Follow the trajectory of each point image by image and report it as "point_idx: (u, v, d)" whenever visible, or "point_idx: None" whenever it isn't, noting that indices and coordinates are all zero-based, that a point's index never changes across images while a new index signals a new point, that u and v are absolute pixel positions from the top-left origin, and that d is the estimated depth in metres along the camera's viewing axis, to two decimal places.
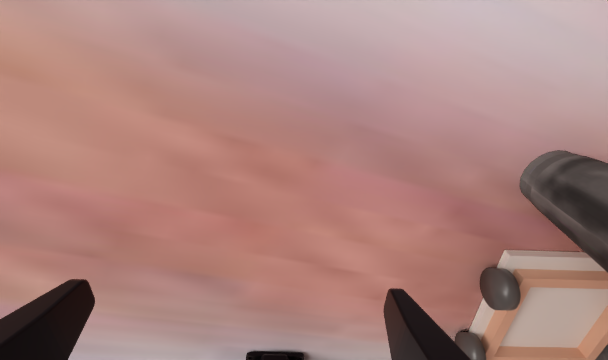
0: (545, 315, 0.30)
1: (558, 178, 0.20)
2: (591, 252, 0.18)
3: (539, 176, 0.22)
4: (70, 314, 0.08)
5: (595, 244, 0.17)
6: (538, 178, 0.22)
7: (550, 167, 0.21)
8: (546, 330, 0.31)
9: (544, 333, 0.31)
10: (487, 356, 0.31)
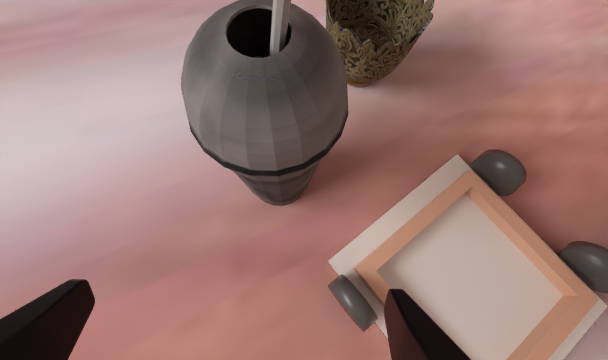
0: (462, 289, 0.21)
1: None
2: (255, 184, 0.16)
3: None
4: (70, 314, 0.08)
5: (242, 176, 0.16)
6: None
7: None
8: (494, 306, 0.21)
9: (500, 311, 0.21)
10: None
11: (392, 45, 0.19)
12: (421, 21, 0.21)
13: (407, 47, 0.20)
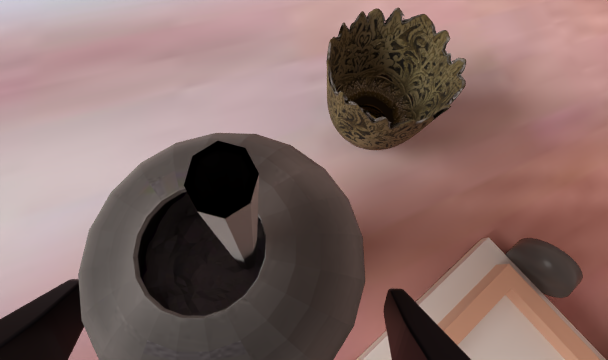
0: None
1: None
2: None
3: None
4: (69, 314, 0.08)
5: None
6: None
7: None
8: None
9: None
10: None
11: (414, 123, 0.15)
12: (447, 85, 0.17)
13: (431, 121, 0.16)
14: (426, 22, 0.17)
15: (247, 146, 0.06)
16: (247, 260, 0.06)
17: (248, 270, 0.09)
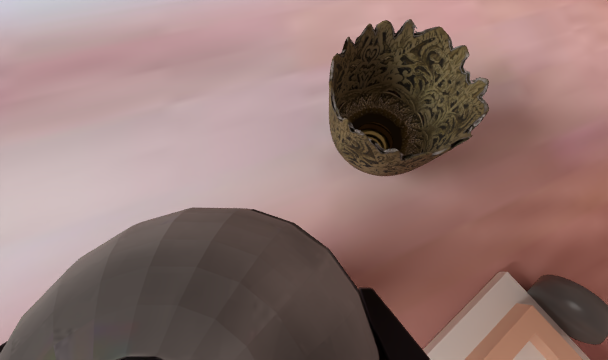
0: None
1: None
2: None
3: None
4: None
5: None
6: None
7: None
8: None
9: None
10: None
11: (430, 155, 0.13)
12: (465, 107, 0.15)
13: None
14: (441, 35, 0.15)
15: (214, 257, 0.04)
16: None
17: None
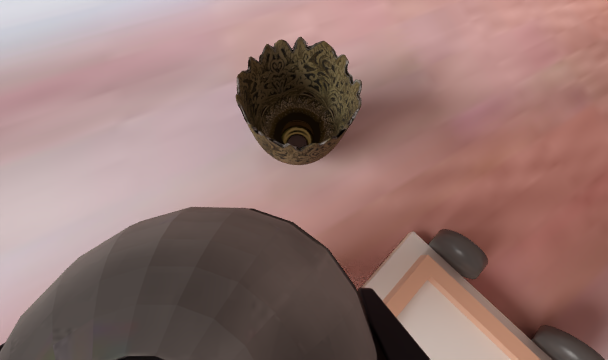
0: None
1: None
2: None
3: None
4: None
5: None
6: None
7: None
8: None
9: None
10: None
11: (317, 145, 0.17)
12: (351, 103, 0.19)
13: (337, 139, 0.18)
14: (326, 47, 0.18)
15: (213, 257, 0.04)
16: None
17: None
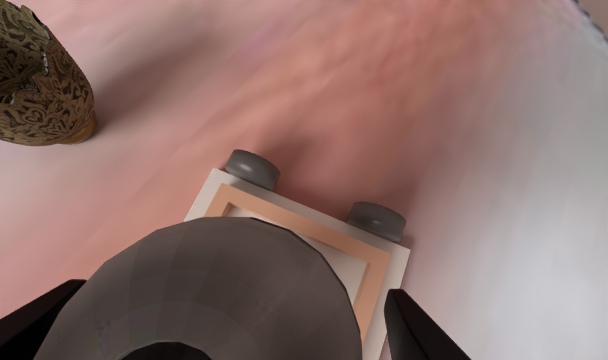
0: None
1: None
2: None
3: None
4: None
5: None
6: None
7: None
8: None
9: None
10: None
11: (6, 105, 0.15)
12: (59, 54, 0.17)
13: (45, 94, 0.16)
14: (4, 4, 0.16)
15: (222, 262, 0.05)
16: None
17: None
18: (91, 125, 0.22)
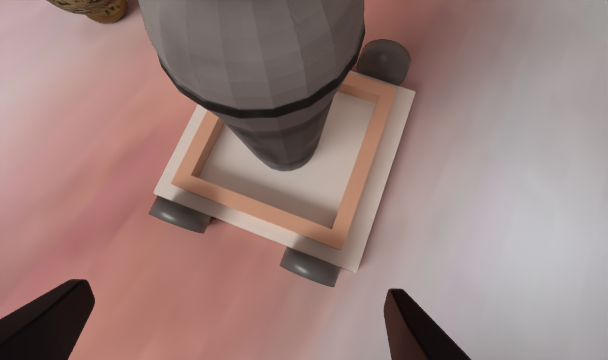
0: None
1: None
2: (254, 141, 0.13)
3: None
4: (70, 314, 0.08)
5: (237, 132, 0.13)
6: None
7: None
8: (320, 146, 0.21)
9: (327, 148, 0.21)
10: (327, 239, 0.18)
11: None
12: None
13: None
14: None
15: None
16: None
17: None
18: (123, 2, 0.24)
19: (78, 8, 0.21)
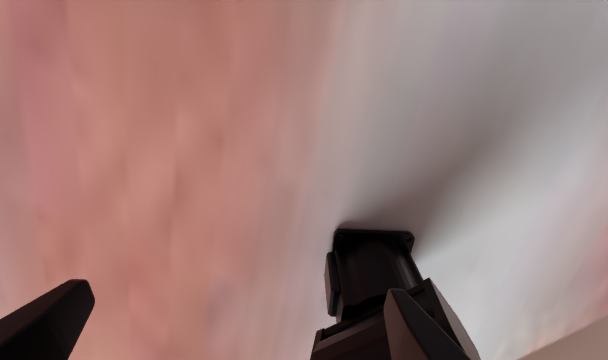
0: None
1: None
2: None
3: None
4: (70, 314, 0.08)
5: None
6: None
7: None
8: None
9: None
10: None
11: None
12: None
13: None
14: None
15: None
16: None
17: None
18: None
19: None
